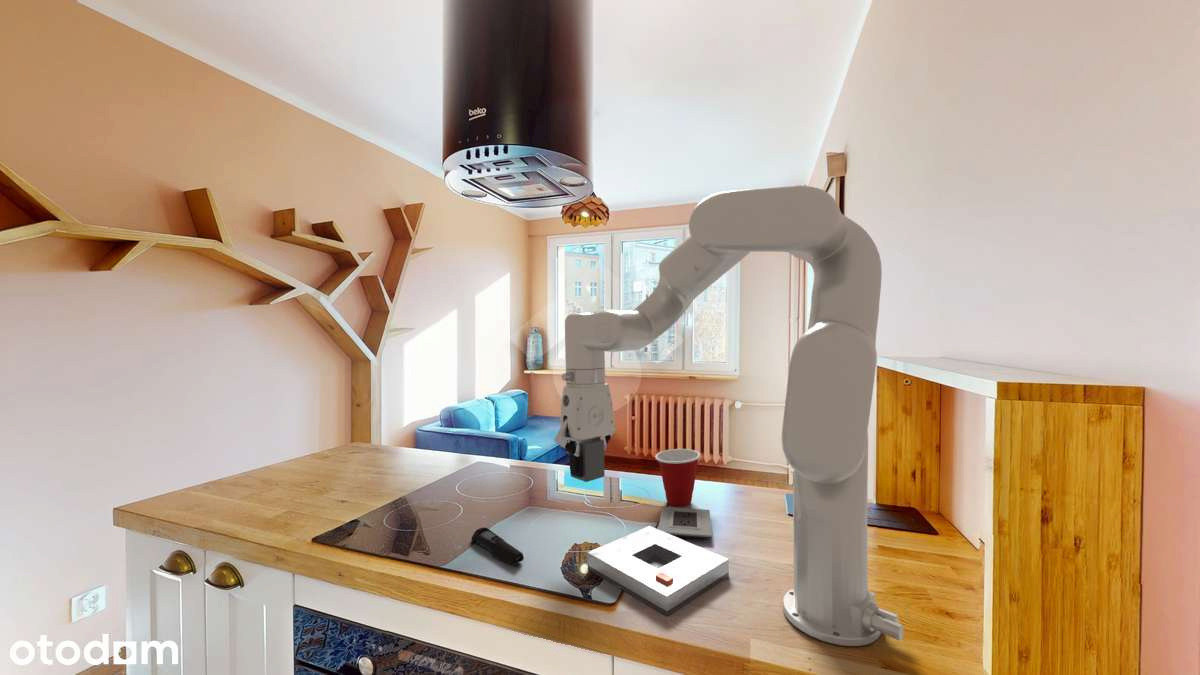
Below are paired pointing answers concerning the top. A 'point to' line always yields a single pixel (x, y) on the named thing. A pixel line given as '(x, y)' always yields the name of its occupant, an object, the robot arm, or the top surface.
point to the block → (592, 459)
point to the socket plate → (658, 568)
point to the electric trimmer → (497, 546)
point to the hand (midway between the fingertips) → (587, 471)
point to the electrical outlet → (686, 522)
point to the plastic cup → (678, 474)
